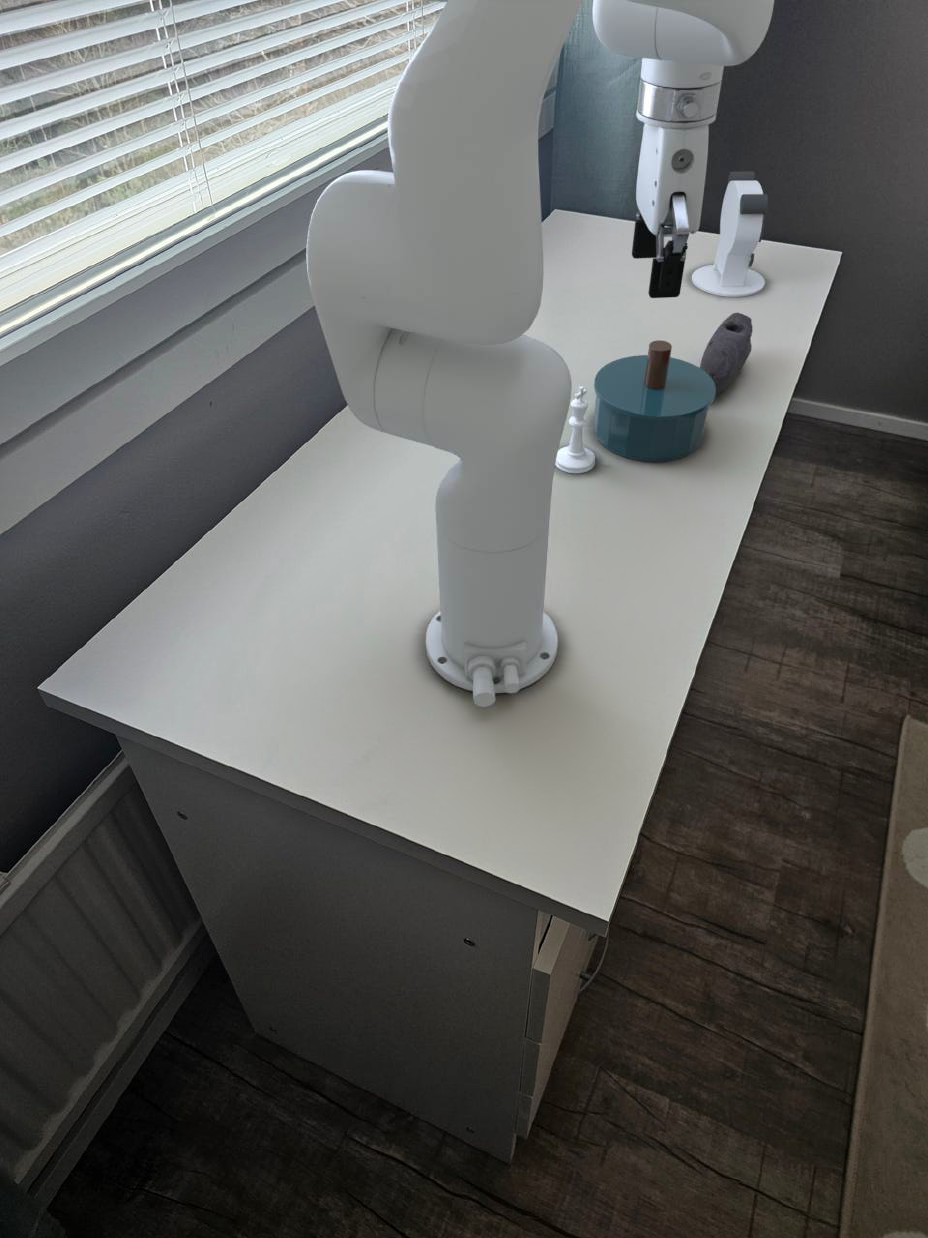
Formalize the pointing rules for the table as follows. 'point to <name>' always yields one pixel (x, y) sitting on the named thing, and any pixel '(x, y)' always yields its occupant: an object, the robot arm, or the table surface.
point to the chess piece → (576, 440)
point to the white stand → (736, 240)
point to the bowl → (647, 434)
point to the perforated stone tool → (728, 350)
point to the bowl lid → (655, 385)
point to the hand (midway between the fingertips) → (654, 275)
